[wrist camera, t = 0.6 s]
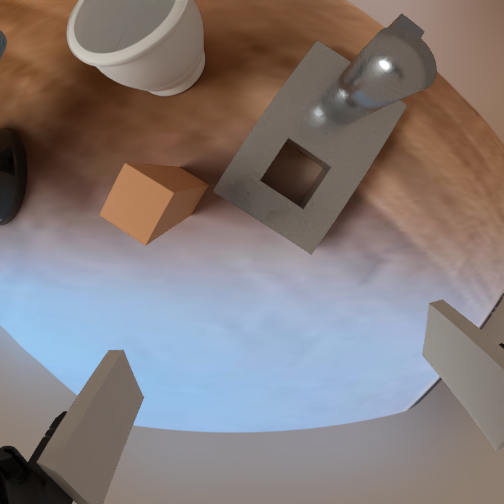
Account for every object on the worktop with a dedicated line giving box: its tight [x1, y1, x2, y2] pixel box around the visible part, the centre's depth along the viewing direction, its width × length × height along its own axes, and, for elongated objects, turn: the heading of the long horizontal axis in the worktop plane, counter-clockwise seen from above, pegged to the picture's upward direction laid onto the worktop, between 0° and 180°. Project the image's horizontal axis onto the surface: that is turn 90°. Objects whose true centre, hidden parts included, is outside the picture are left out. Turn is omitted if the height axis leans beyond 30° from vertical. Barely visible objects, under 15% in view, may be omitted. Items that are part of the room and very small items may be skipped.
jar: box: [67, 0, 205, 96], centre depth 22 cm, size 11×10×15 cm
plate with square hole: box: [213, 14, 437, 255], centre depth 22 cm, size 12×22×18 cm, turn 147°
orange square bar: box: [100, 163, 209, 246], centre depth 26 cm, size 4×4×15 cm
